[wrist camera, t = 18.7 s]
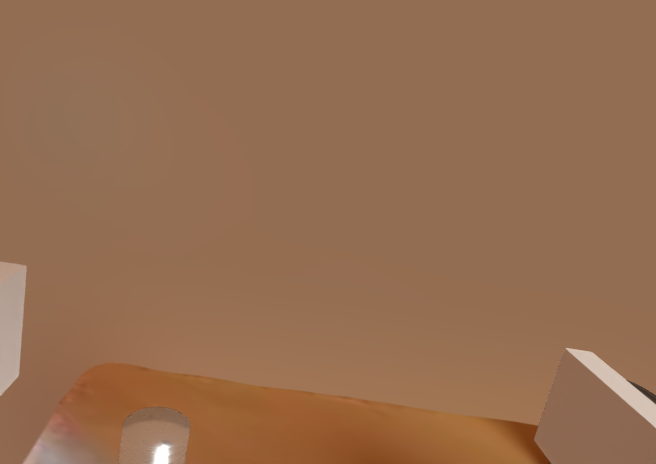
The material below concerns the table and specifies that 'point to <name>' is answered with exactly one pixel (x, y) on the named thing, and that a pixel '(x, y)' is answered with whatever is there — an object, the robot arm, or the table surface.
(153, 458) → the long steel pin
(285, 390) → the table surface
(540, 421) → the robot arm
